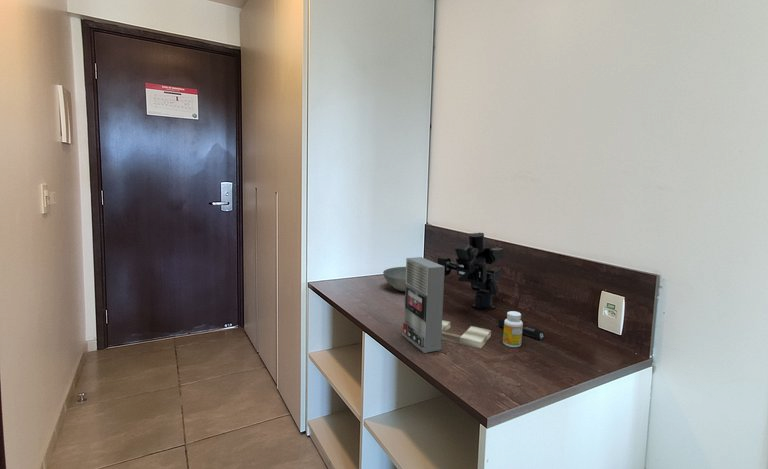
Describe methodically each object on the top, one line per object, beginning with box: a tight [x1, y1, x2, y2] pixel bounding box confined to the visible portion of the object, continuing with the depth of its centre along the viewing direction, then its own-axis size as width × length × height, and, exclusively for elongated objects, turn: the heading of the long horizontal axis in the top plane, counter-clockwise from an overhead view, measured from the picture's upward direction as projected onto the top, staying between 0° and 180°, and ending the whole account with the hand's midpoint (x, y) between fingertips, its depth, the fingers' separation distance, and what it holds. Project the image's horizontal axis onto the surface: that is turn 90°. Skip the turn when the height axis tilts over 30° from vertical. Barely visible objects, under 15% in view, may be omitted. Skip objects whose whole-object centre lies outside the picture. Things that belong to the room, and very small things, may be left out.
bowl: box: [382, 266, 406, 292], centre depth 181 cm, size 21×21×8 cm
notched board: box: [441, 319, 492, 349], centre depth 130 cm, size 11×17×2 cm, turn 61°
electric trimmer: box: [497, 318, 546, 341], centre depth 134 cm, size 4×16×3 cm, turn 44°
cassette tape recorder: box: [401, 256, 445, 354], centre depth 122 cm, size 14×6×25 cm, turn 24°
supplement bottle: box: [502, 310, 524, 348], centre depth 124 cm, size 5×5×10 cm
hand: (447, 276), depth 138 cm, fingers open, 9 cm apart
